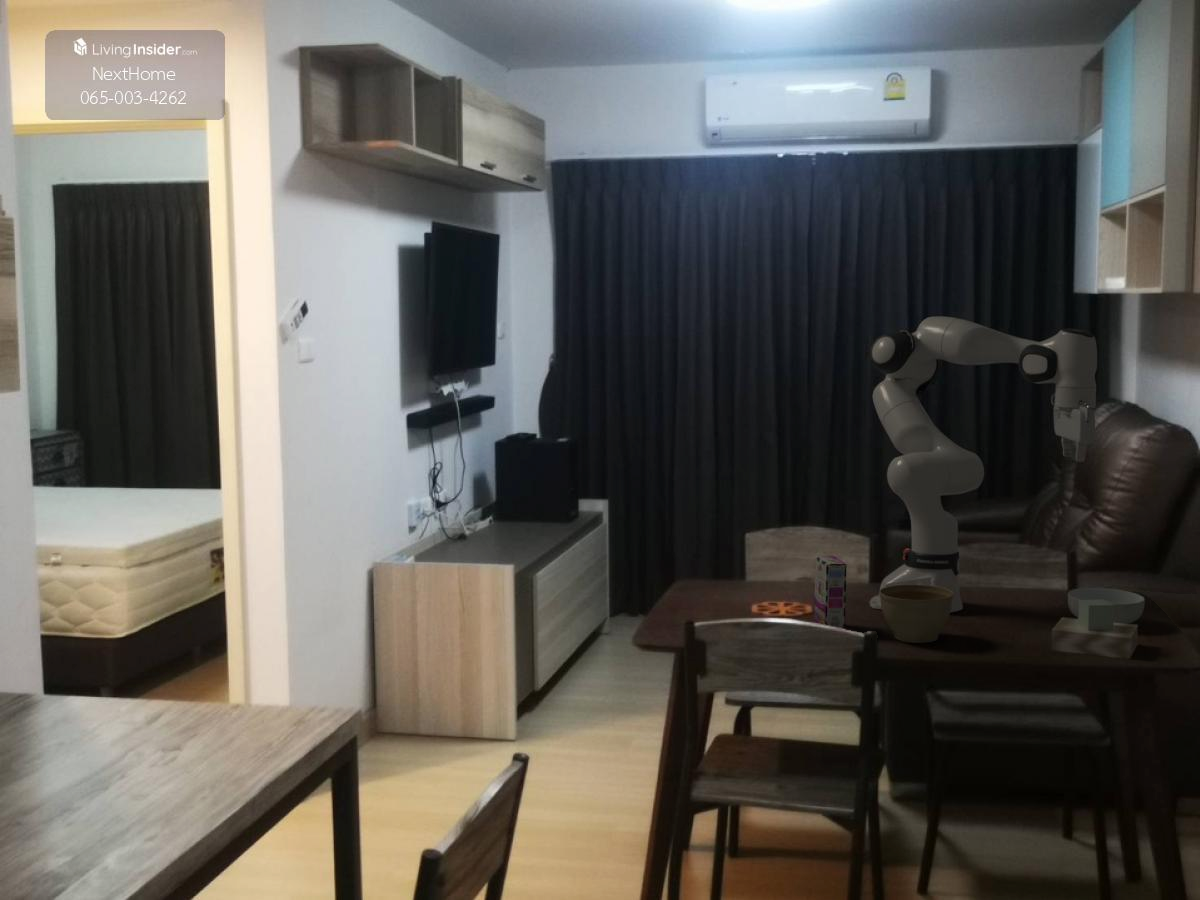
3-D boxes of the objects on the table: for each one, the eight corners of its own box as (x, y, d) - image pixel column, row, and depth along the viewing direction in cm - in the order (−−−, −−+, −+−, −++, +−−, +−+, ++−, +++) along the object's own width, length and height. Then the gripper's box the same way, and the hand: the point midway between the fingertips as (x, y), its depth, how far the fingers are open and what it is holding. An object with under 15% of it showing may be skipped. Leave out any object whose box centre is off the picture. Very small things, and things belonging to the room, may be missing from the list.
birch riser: (1051, 652, 292) (1051, 629, 291) (1061, 638, 303) (1062, 617, 303) (1129, 661, 284) (1130, 638, 284) (1137, 646, 296) (1137, 624, 295)
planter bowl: (885, 627, 313) (885, 582, 312) (956, 633, 307) (957, 586, 306) (873, 644, 298) (873, 596, 297) (947, 650, 292) (948, 601, 291)
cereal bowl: (1079, 633, 307) (1079, 602, 306) (1057, 616, 323) (1058, 587, 322) (1154, 633, 306) (1155, 603, 305) (1129, 616, 322) (1130, 587, 322)
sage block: (1088, 630, 290) (1088, 605, 290) (1078, 624, 296) (1078, 600, 295) (1113, 629, 291) (1113, 604, 290) (1102, 623, 296) (1103, 599, 296)
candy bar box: (846, 634, 307) (847, 563, 305) (825, 635, 307) (825, 564, 305) (834, 622, 318) (834, 554, 316) (813, 623, 318) (814, 555, 316)
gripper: (1103, 402, 298) (1101, 464, 300) (1076, 396, 319) (1074, 454, 320) (1074, 402, 299) (1073, 464, 300) (1049, 396, 319) (1047, 454, 320)
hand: (1073, 459), depth 310 cm, fingers open, 8 cm apart
